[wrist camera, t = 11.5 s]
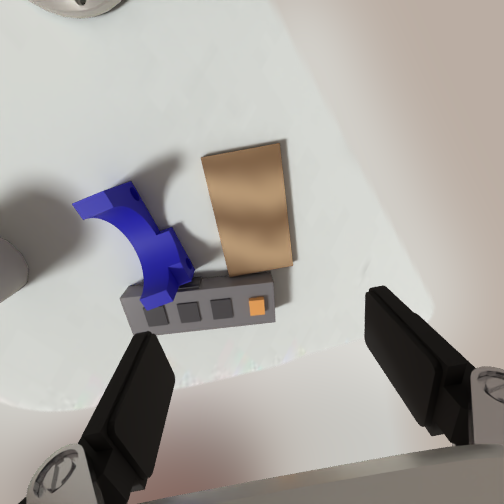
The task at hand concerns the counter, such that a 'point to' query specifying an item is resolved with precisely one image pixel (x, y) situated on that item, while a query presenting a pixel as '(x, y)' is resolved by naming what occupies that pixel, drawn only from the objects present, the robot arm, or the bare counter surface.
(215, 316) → the power strip
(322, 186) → the counter surface
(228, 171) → the wooden board
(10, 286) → the cup
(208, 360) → the counter surface
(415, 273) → the counter surface
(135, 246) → the cable clip
